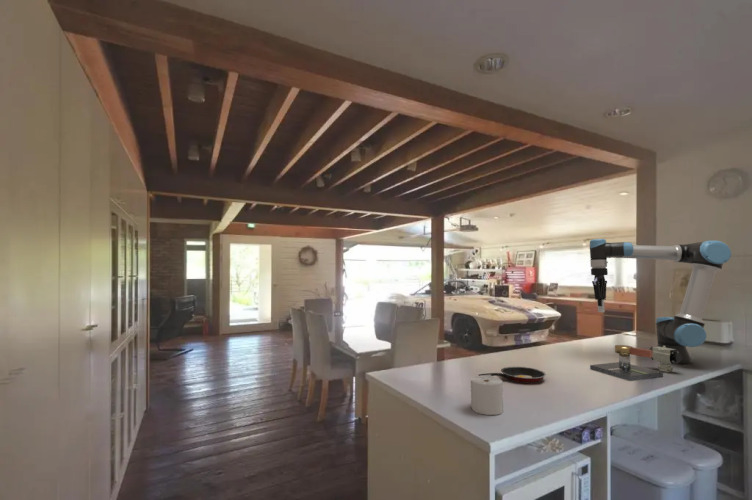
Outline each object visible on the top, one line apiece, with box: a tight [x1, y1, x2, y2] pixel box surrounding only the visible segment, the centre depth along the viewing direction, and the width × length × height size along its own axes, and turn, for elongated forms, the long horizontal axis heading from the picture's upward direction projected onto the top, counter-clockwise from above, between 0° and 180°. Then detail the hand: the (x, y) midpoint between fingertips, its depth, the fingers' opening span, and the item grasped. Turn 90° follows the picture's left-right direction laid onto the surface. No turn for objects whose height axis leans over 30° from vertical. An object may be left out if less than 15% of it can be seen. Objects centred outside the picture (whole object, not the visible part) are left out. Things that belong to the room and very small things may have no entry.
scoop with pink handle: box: [614, 344, 653, 359], centre depth 163 cm, size 14×7×3 cm, turn 31°
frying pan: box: [477, 366, 547, 384], centre depth 156 cm, size 19×32×4 cm, turn 106°
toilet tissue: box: [470, 375, 504, 416], centre depth 123 cm, size 11×12×10 cm
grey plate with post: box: [589, 353, 664, 382], centre depth 166 cm, size 20×20×9 cm
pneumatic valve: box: [648, 346, 682, 373], centre depth 168 cm, size 6×12×12 cm, turn 20°
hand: (601, 312), depth 187 cm, fingers closed
